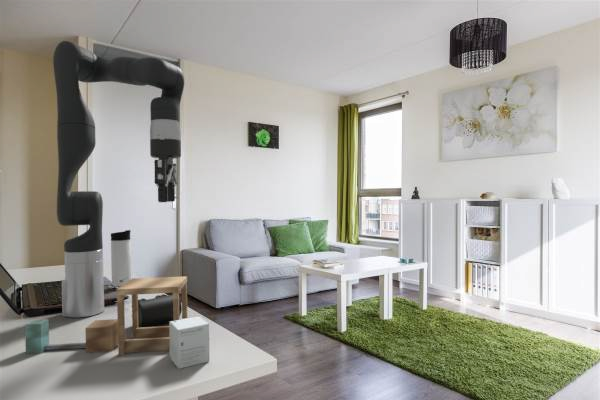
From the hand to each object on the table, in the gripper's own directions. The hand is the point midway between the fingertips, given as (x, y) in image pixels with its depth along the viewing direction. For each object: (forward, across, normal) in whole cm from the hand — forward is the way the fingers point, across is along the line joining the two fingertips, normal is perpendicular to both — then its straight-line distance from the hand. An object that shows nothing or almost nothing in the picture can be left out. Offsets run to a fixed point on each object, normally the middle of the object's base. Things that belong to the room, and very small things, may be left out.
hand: (166, 201), depth 102 cm
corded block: (+30, +18, -16) cm, 39 cm away
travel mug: (+30, -38, -24) cm, 54 cm away
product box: (+30, +28, +10) cm, 42 cm away
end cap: (+30, +5, -2) cm, 31 cm away
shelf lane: (+30, +18, +1) cm, 35 cm away
